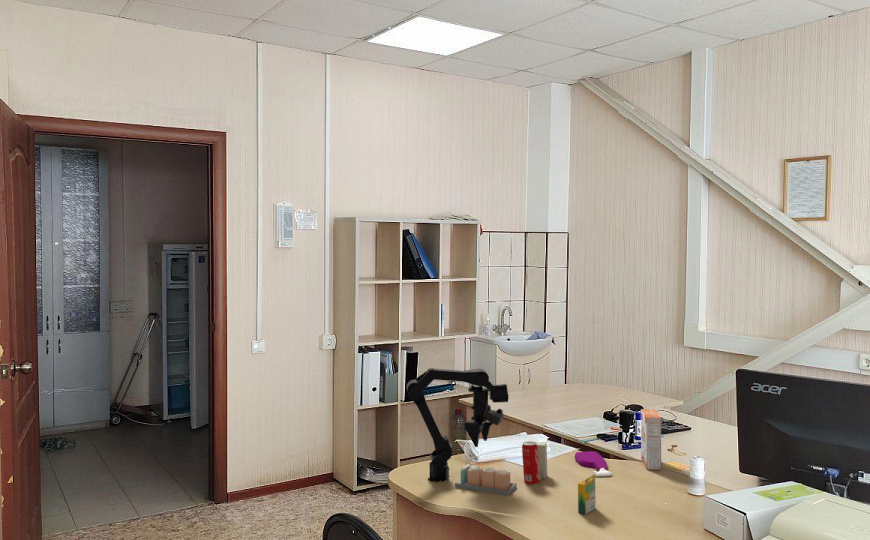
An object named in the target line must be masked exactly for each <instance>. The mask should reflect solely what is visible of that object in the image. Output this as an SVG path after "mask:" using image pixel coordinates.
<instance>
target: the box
mask: <svg viewBox="0 0 870 540" xmlns="http://www.w3.org/2000/svg"><path fill="white" fill-rule="evenodd" d="M535 442H536V444H537V447H538V462H539V477H540V479H541V478H542V479H547V478H548V449H547V447H548V445H547V442H539V441H535Z"/></svg>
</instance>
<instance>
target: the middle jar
mask: <svg viewBox="0 0 870 540" xmlns="http://www.w3.org/2000/svg"><path fill="white" fill-rule="evenodd" d="M497 471H498V470H497V469H495V468H493V467H487V468H484V470H483V472H482V487H489V488H495V487H494V474H496V473H497Z"/></svg>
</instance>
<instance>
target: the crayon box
mask: <svg viewBox="0 0 870 540" xmlns="http://www.w3.org/2000/svg"><path fill="white" fill-rule="evenodd" d="M593 474H594V475H593ZM593 474H592V475H591V476H589V477H587V478H586V479H584V480H582V481H579V483H577V500H578V501H577V511H578V514H581V515H584V516H585V515H587V514H589V513H590V512H592V511H593V510H595V509H596V508H597V507H596V506H597V505H596V476H595V473H593Z"/></svg>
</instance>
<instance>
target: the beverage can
mask: <svg viewBox="0 0 870 540" xmlns="http://www.w3.org/2000/svg"><path fill="white" fill-rule="evenodd" d="M536 442H537V441H525V442H522V444H521V445H522V446H521V453H522V468H523V469H522V470H523V482H524V484H527V485H534V486H535V485H538V484H540V482H541V480H540V479H541V478H540V477H539V462H538V447H537V444H536Z"/></svg>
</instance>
